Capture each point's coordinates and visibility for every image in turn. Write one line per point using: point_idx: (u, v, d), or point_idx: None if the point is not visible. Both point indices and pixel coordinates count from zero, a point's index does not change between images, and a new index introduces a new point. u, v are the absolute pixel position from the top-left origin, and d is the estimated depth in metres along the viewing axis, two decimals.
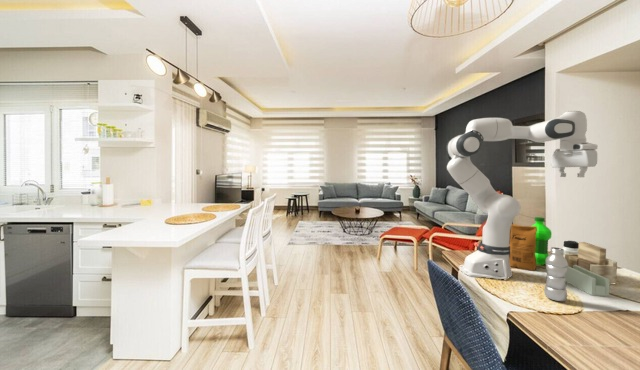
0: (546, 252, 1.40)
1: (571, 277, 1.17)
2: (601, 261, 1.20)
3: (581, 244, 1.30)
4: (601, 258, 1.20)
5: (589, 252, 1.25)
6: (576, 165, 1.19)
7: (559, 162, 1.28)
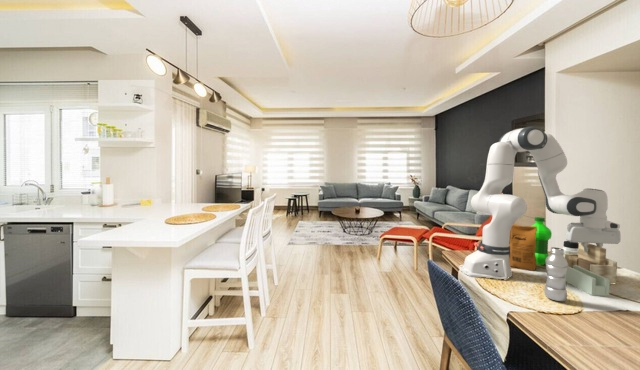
0: (546, 252, 1.40)
1: (571, 277, 1.17)
2: (601, 261, 1.20)
3: None
4: (601, 258, 1.20)
5: (589, 252, 1.25)
6: (606, 242, 1.23)
7: (584, 237, 1.24)
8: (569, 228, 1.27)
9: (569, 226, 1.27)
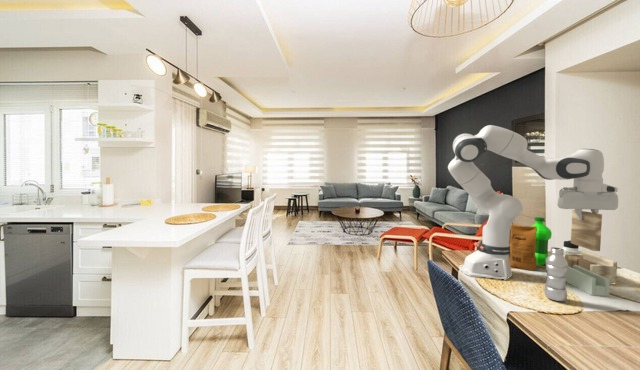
0: (546, 252, 1.40)
1: (571, 277, 1.17)
2: (596, 228, 1.08)
3: None
4: (596, 225, 1.08)
5: (584, 220, 1.13)
6: (602, 208, 1.11)
7: (577, 203, 1.12)
8: (561, 193, 1.14)
9: (561, 191, 1.14)
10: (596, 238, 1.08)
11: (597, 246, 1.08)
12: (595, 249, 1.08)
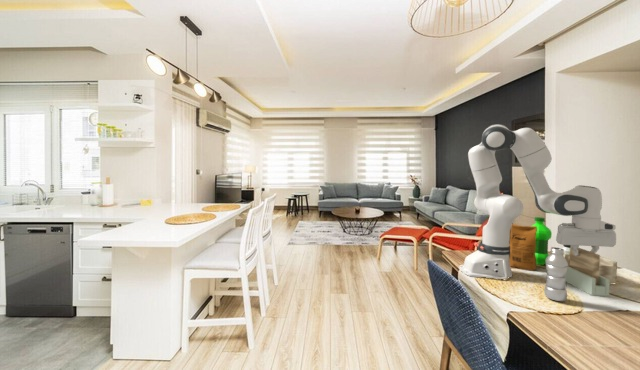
0: (546, 252, 1.40)
1: (571, 277, 1.17)
2: (594, 268, 1.08)
3: None
4: (594, 265, 1.08)
5: (582, 259, 1.14)
6: (600, 245, 1.11)
7: (576, 239, 1.13)
8: (560, 229, 1.15)
9: (560, 227, 1.15)
10: None
11: None
12: None
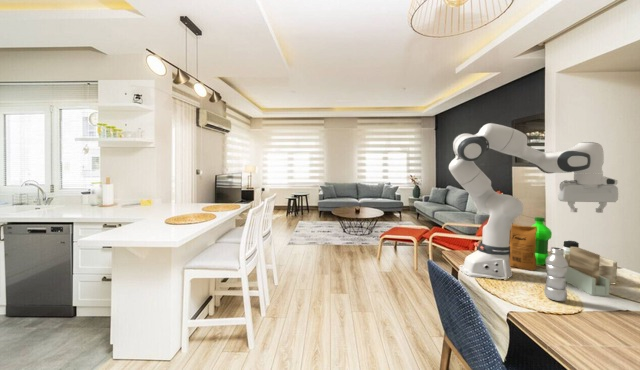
0: (546, 252, 1.40)
1: (571, 277, 1.17)
2: (594, 268, 1.08)
3: (573, 249, 1.18)
4: (594, 265, 1.08)
5: (582, 259, 1.14)
6: (602, 200, 1.12)
7: (578, 196, 1.14)
8: (561, 186, 1.16)
9: (561, 184, 1.16)
10: None
11: None
12: None
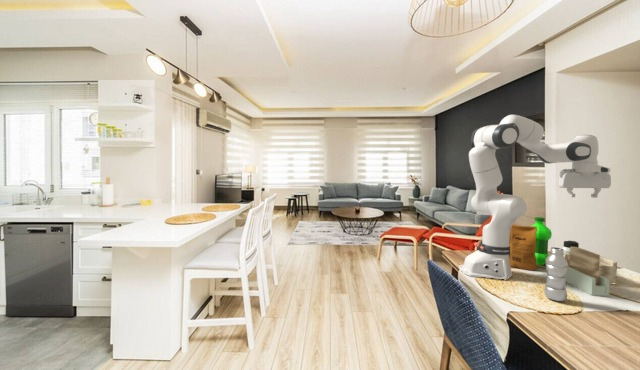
0: (546, 252, 1.40)
1: (571, 277, 1.17)
2: (594, 268, 1.08)
3: (573, 249, 1.18)
4: (594, 265, 1.08)
5: (582, 259, 1.14)
6: (597, 186, 1.27)
7: (576, 182, 1.28)
8: (561, 174, 1.30)
9: (561, 172, 1.30)
10: None
11: None
12: None
